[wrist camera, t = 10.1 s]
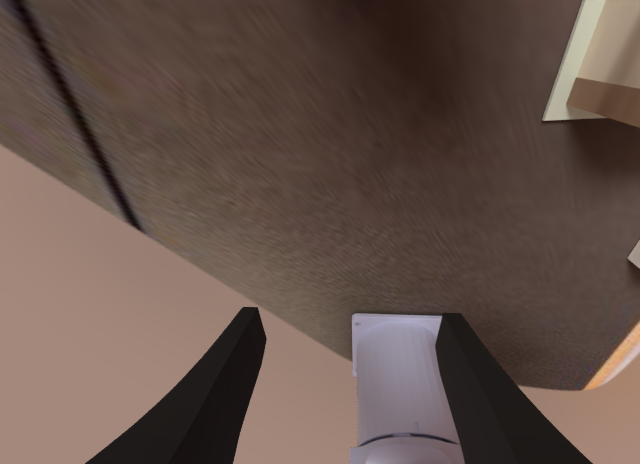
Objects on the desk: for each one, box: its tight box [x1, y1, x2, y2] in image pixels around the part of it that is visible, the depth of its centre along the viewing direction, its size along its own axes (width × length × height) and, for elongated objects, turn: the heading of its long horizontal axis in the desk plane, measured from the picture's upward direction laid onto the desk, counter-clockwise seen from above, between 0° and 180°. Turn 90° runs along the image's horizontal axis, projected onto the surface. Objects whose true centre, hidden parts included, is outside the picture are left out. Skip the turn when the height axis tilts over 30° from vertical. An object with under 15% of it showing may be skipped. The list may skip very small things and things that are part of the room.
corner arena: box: [542, 0, 640, 268], centre depth 13 cm, size 20×13×2 cm, turn 4°
